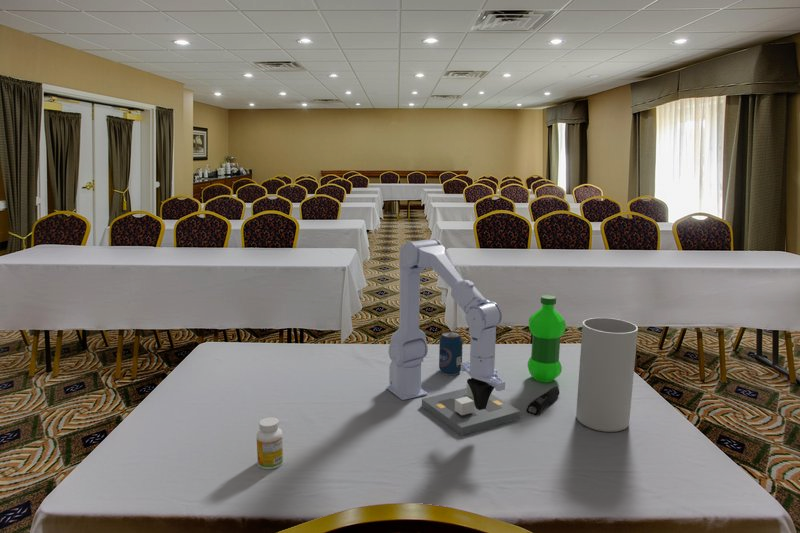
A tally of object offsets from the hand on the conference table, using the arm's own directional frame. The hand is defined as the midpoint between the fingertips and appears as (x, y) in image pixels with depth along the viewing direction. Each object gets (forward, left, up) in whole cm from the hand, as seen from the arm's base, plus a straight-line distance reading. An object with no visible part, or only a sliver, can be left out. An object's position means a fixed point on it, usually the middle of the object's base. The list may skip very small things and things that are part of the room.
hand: (480, 408), depth 135 cm
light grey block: (-7, 0, -4) cm, 8 cm away
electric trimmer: (-4, +24, -7) cm, 25 cm away
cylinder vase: (+10, +30, -6) cm, 32 cm away
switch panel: (-10, +4, -6) cm, 12 cm away
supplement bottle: (-11, -48, -6) cm, 50 cm away
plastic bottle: (-17, +36, -6) cm, 40 cm away
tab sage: (-13, +8, -4) cm, 15 cm away
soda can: (-35, +15, -6) cm, 38 cm away
